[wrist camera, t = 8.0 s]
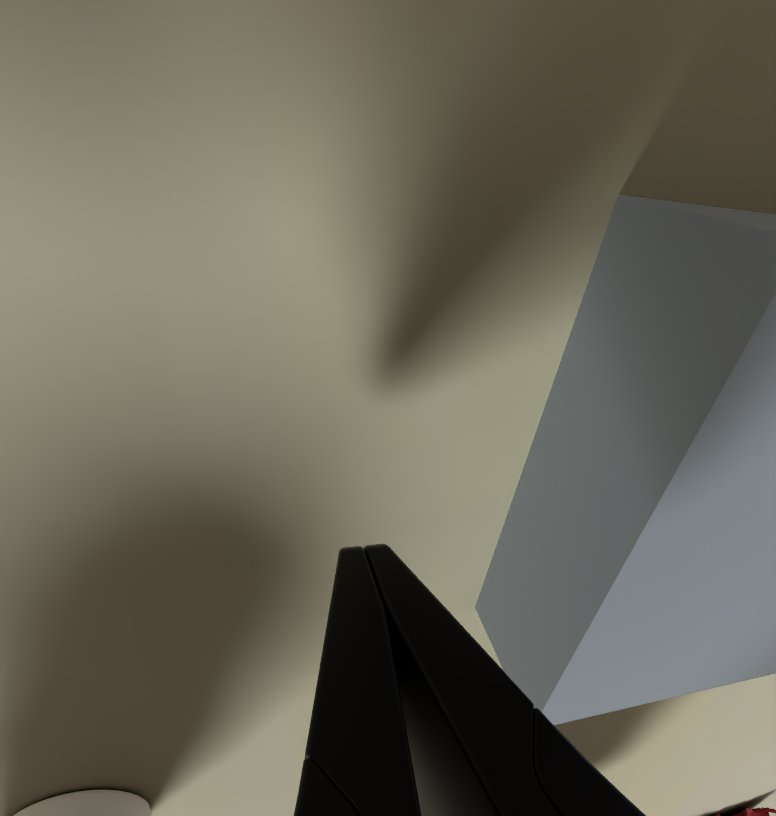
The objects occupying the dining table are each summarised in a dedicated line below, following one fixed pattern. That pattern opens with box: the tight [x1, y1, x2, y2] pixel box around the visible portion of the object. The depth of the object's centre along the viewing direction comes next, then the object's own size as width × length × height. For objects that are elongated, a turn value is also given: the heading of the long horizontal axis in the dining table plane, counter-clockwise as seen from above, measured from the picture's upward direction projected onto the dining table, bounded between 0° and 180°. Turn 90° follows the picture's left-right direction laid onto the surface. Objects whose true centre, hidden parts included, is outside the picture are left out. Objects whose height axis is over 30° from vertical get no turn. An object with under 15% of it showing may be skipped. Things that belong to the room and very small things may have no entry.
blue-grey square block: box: [475, 194, 776, 725], centre depth 12 cm, size 12×12×4 cm
